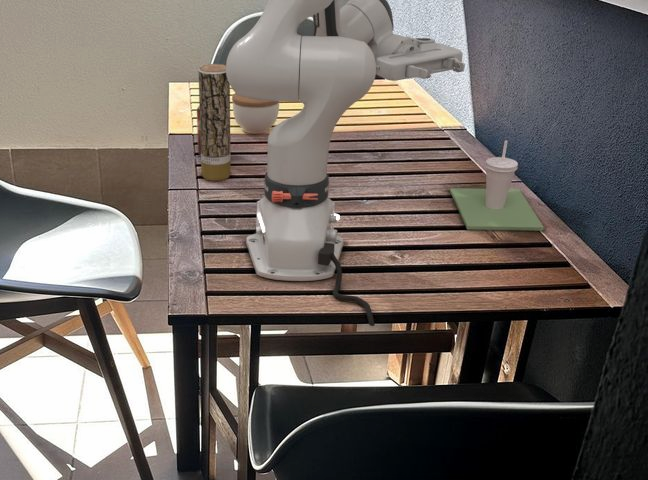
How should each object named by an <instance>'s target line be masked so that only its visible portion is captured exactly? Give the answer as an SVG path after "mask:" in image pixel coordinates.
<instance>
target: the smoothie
mask: <svg viewBox="0 0 648 480" xmlns="http://www.w3.org/2000/svg"><path fill="white" fill-rule="evenodd" d="M508 141H509V140H506V139H505V140H504V143H503V149H502V155H501V156H494V157H489V158H487V159H486V160H485V164H484V166H485V168H486V173H485V189H486V202H485V206H486V207H487V208H489V209H494V210H500V209H503V208H504V205H505V201H506V198H507V195H508V192H509V189H511V185H512V182H513V179H514V176H515V172H516V171H517V170H518V168H519V167H518V166H519V163H518V162H517V160H515V159H513V158H509V157H506V153H507V146H508Z"/></svg>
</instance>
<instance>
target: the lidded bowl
mask: <svg viewBox="0 0 648 480" xmlns="http://www.w3.org/2000/svg"><path fill="white" fill-rule="evenodd" d="M231 101H232V112H233V117H234V120H235V122H236V124H237V125H238V126H239V127H240V128H241V129H242V131H243V132H245V133H247V134H253V135H254V134H255V135H256V134H257V135H258V134H264V133H267V132H269V131H270V129H271V128H272V127H273V126H274V124H275V123H276V122H277V119H278V117H279V111H280V101H261V100H256V99H251V98H247V97H243V96H239V95H237V94H236V93H235V92H234V93H233V94H232V96H231Z"/></svg>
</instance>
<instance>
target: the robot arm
mask: <svg viewBox="0 0 648 480" xmlns="http://www.w3.org/2000/svg"><path fill="white" fill-rule="evenodd" d="M340 7H341V6H340V0H267V1H266V4H265V7H264V10H263V12H262V14H261V15H260V17H259V19H258V20H257V22H256V23H255V24H254V26H253V27H252V28H251V29H250V30H249V31H248V32H247V33H246V34H245V35H243V36H242V37H241V38H239V39H238V40H237V41H236V42H235V43H234V44H233V46H232V47H231V48H230V50H229V52H228V55H227V57H226V64H225V65H226V74H227V79H228V81H229V84H230V88H231V90H232V91H233V92H234V94H235V93H236V94H237V95H239V96H243V97H247V98H251V99H256V100H261V101H279V102H291V103H292V102H293V103H294V102H296V103H301V104H303V107H302V109H300V111H299V112H298V113H296V114H295V115H293V116H290V117H289V118H286V119H284V120H282V121H280V122H279V123H278V124H276V125H275V126H274V127H273V128H272V129H271V130H270V132H269V133H268V137H267V151H266V152H267V153H266V156H267V159H266V160H267V161H266V162H267V163H266V172H265V174H264V179H263V187H264V195H263V197H261V198H260V199H259V200H257V201H256V222H255V223H256V225H255V228H254V233H253V234H250V235H247V236H246V239H245V245H246V248H247V251H248V254H249V256H250V259H251V262H252V265H253V268H254V270H255V274H256V275H257V276H258V277H261V278H265V279H270V280H276V281H286V282H287V281H289V282H313V281H321V280H326V279H330V278H333V277H334V275H335V272H336V279H335V285H334V288H333V290H332V296H333V297H334V298H336V299H338V300H341V301H348V302H354V303H358V304H359V305H361V306H362V307H363V308H364V310H365V313H366V317H367V322H368V325H369V326H370V327H375V325H376V324H375V320H374V316H373V312H372V308H371V305H370V304H369V302H367V301H366V300H364V299H363V298H360V297H359V296H356V295H349V294H341V293H339V291H340V290H341V286H342V279H343V270H342V269H343V268H342V265H341V264H340V261H339V260H340V256H341V254H342V251H343V247H344V238H342V237H341V236H338V229H335V224H336V223H337V221H339V220H340V214H338V213H335V209H336V208H335V206H336V204H335V203H336V202H334V201H333V200H331V198H330V197H329V189H330V175H329V173H328V163H329V162H328V161H329V153H330V144H331V139H332V136H333V132H334V130H335V127H336V126H337V124H338V122H339V120H340V119H341V118H342V117H343V115H344V114H345V112H346V111H347V110H348V109H349V108H351V106H353V105H354V104H355V103H357V102H358V101H360V100H361V99H363V98H364V97H365V96H366V95H367V94H368V93H369V92H370V90H371V88H372V86H373V84H374V82H375V79H376V76H378V77H380V78H382V79H384V80H387V81H392V82H395V81H402V80H407V79H413V78H415V79H416V78H418V79H423V80H426V79H430V78H431V77H432V74H438V73H443V72H447V71H453V72H455V73H462V72H464V71H465V67H466V63H464V62H463V56H464V55H463V52H462V50H461V49H459V48H456V47H453V46H451V45H447V44H444V43H439V42H436V39H435V38H430V37H415V38H414V37H411V36H404V35H400V34H396V33H394V27H395V26H394V18H393V11H392V8H391V6H390V4H389V2H388V0H348V1H346V3H345V4H344V5H343V6H342V7H341V8H340ZM310 17H312V23H313V29H312V35H302V34H298V29H299V27H300V25H301V24H302V23H303V22H304V21H305V20H307V19H309V18H310Z"/></svg>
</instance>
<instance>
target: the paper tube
mask: <svg viewBox="0 0 648 480" xmlns="http://www.w3.org/2000/svg"><path fill="white" fill-rule="evenodd" d="M198 101H199V104H198V106H200V141H201V156H200V167H201V176H202V178H203V179H205V180H207V181H210V182H220V181H225V180H227V179H229V178H230V176H231V174H232V173H231V171H232V169H231V168H232V167H231V161H232V160H231V158H232V157H231V154H232V153H231V86H230V84H229V81H228V79H227V74H226V64H222V63H207V64H203V65H200V66H198Z"/></svg>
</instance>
